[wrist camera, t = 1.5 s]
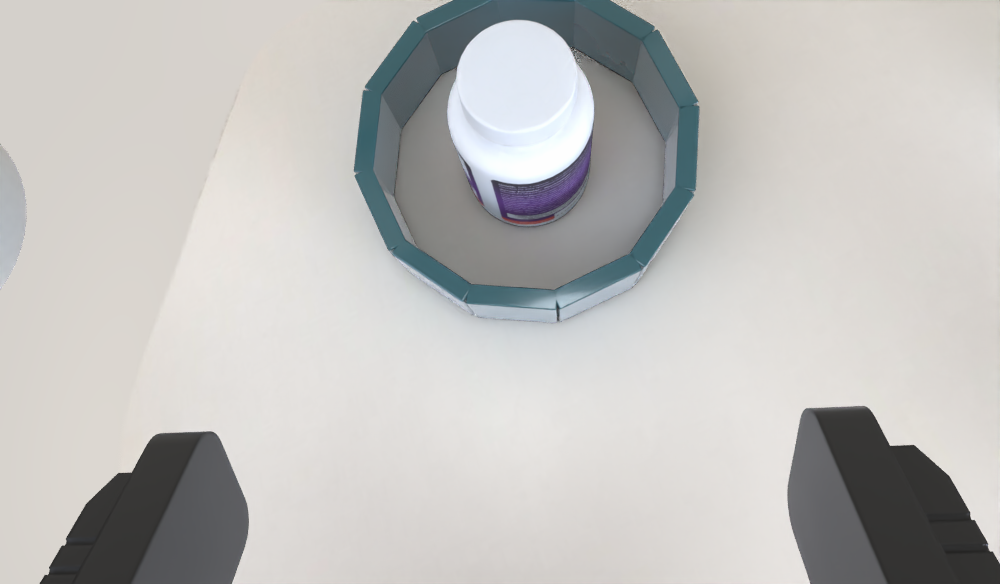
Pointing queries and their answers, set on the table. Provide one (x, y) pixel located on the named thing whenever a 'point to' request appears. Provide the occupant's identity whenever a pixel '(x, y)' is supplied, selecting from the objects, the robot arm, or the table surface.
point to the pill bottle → (522, 122)
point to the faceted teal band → (438, 48)
